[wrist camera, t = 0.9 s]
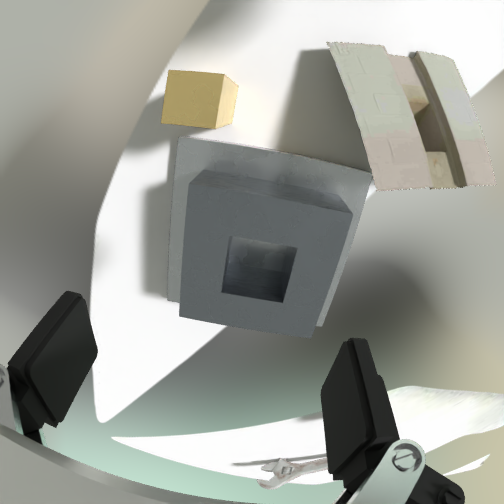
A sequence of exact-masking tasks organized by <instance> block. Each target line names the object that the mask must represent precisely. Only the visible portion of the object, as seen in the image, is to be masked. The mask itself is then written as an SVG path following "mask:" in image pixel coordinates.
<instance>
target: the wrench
mask: <svg viewBox="0 0 504 504" xmlns="http://www.w3.org/2000/svg"><path fill="white" fill-rule="evenodd" d="M327 469H328V463H327V458H323V459H319V460H315V461H311V462H306V463H301V464H297V463H290V462H287V459H281V458H280V459H279V461H277V462H271V463H269V464H266V465H264V466H262V468H261V470H264V471H268V472H274V474H275V476H274V477H273V478H272V479H270V480H269V481H265V480H260V479H257V482H258V484H259V485H260V486H261V487H263V488H265V489H276V488H279V487H280V486H282V485H284V484H285V483H287V482H289V481H291V480H293V479H295V478H297V477H299V476H301V475H304V474H309V473H314V472H318V471H322V470H327Z"/></svg>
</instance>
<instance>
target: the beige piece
mask: <svg viewBox="0 0 504 504" xmlns="http://www.w3.org/2000/svg"><path fill="white" fill-rule="evenodd" d="M326 43H327V45H328V47H330V48H329V49H330V52H331V54H332V57H333V59H334V61H335V63H336V67H337V68H338V72H339V74H340V76H341V78H342V79H341V80H342V81H343V85H344V87H345V89H346V91H347V95H348V98H349V101H350V104H351V105H352V107H353V108H352V110H354V114H355V120H356V121H357V123H358V128H360V132H361V137H362V140H363V144H364V145H365V146H364V147H365V149H366V153H367V157H368V161H369V164H370V168H371V169H372V171H371V172H372V173H373V174H372V176H373V177H374V178H373V180H374V181H375V182H374V184H375V186H376V188H377V189H378V190H376V191H387V190H388V191H389V190H391V191H392V190H399V189H400V190H401V189H410V188H412V189H419V188H425V187H429V188H430V189H435V188H436V189H441V188H443V189H444V188H446V189H447V188H448V189H450V188H455V189H456V188H457V187H460V188H461V187H462V188H463V187H465V186H470V185H471V186H472V185H474V186H477V185H479V186H480V185H484V186H485V185H496V181H495V175H494V173H493V167H492V163H491V160H490V155H489V153H488V152H489V151H488V148H487V145H486V142H485V139H484V136H483V134H482V130H481V126H480V124H479V121H478V119H477V116H476V113H475V110H474V107H473V105H472V102H471V100H470V97H469V94H468V93H467V89H466V87H465V85H464V83H463V80H462V78H461V76H460V73H459V72H458V69H457V68H456V65H455V62H454V60H452V59H450V58H448V57H445V56H443V55H442V56H441V55H437V54H435V55H434V54H433V53H430V54H429V53H427V52H420V51H416V55H415V56H414V58H410V57H405V56H403V57H402V56H397V55H395V56H394V55H390V54H387V51H386V49H385V47H384V46H381V45H368V44H362V43H361V44H358V43H357V44H355V43H353V44H352V43H343V42H340V43H338V42H334V43H333V42H332V43H330V42H326Z"/></svg>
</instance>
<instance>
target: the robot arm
mask: <svg viewBox="0 0 504 504" xmlns="http://www.w3.org/2000/svg"><path fill="white" fill-rule="evenodd" d="M97 353H98V349H97V345H96V342H95V338H94V334H93V330H92V326H91V322H90V318H89V314H88V310H87V305H86V301H85V299H83V298H82V296H81V294H79V293H75V292H71V291H66V292H65V293H64V294H63V295H62V296H61V297H60V298H59V299H58V301H57V302H56V303H55V304H54V305H53V306H52V308H51V309H50V310H49V311H48V312H47V314H46V315H45V316H44V317H43V318H42V320H41V321H40V322H39V323H38V325H37V326H36V327H35V328H34V329H33V331H32V332H31V333H30V335H29V336H28V337H27V339H26V340H25V341H24V342H23V344H22V345H21V347H20V348H19V349H18V350H17V351H16V353H15V354H14V355H13V357H12V358H11V360H10V361H9V362H8V365H9V366H8V367H7V369H6V368H5V367H4V366H3V365H1V364H0V504H254V503H243V502H233V501H225V500H217V499H210V498H204V497H198V496H192V495H187V494H182V493H178V492H173V491H169V490H164V489H160V488H156V487H152V486H149V485H145V484H141V483H138V482H134V481H131V480H128V479H124V478H122V477H118V476H115V475H113V474H109V473H107V472H104V471H101V470H98V469H96V468H93V467H91V466H88V465H86V464H83V463H80V462H78V461H76V460H73V459H71V458H69V457H67V456H64V455H62V454H60V453H58V452H56V451H54V450H51V449H49V448H48V447H47V444H46V440H45V437H44V433H43V429H42V427H43V425H44V423H47V424H49V425H51V426H53V427H55V428H56V427H57V425H58V423H59V422H62V421H63V420H64V418H65V416H66V414H67V412H68V410H69V408H70V406H71V404H72V402H73V400H74V398H75V396H76V394H77V392H78V390H79V388H80V386H81V385H82V383H83V381H84V379H85V377H86V375H87V374H88V372H89V370H90V368H91V366H92V365H93V363H94V361H95V359H96V357H97ZM321 403H322V412H323V421H324V431H325V441H326V452H327V463H328V472H329V473H330V474H333V480H343V483H344V488H345V489H344V490H343V491H342V493H341V494H340V495H339V496H338V498H337V499H336V500H335V501H334V502H333V503H332V504H464V502H465V496H464V492H463V490H462V489H461V487H460V486H458V485H457V484H455V483H454V482H452V481H451V480H449V479H447V478H446V477H444V476H443V475H441V474H439V473H438V472H436V471H435V470H433V469H432V468H430V467H428V466H427V465H426V464H425V462H426V457H425V453H424V450H423V449H422V448H421V446H420V445H419V444H417V443H416V442H414V441H412V440H408V439H402V440H400V438H399V434H398V430H397V427H396V423H395V419H394V415H393V412H392V408H391V405H390V401H389V398H388V394H387V391H386V388H385V385H384V381H383V379H382V377H381V376H380V375H378V374H377V372H376V368H375V365H374V361H373V358H372V355H371V352H370V349H369V345H368V342H367V340H366V339H361V338H350V339H349V340H348V341H347V342H343V344H342V346H341V348H340V351H339V353H338V355H337V357H336V359H335V362H334V364H333V366H332V368H331V370H330V372H329V374H328V376H327V378H326V380H325V382H324V384H323V386H322V389H321Z"/></svg>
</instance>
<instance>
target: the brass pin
mask: <svg viewBox="0 0 504 504" xmlns="http://www.w3.org/2000/svg"><path fill="white" fill-rule="evenodd" d="M237 92H238V85H237V84H236V83H235V82H233V81H232V80H231V79H230V78H229V77H227V76H226V75H225V74H218V73H208V72H195V71H180V70H169V71H168V77H167V83H166V90H165V96H164V103H163V111H162V118H161V123H163V124H175V125H185V126H194V127H202V128H210V129H217V128H220V127H223V126H226V125H229V124H232V121H233V115H234V109H235V103H236V97H237Z"/></svg>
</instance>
